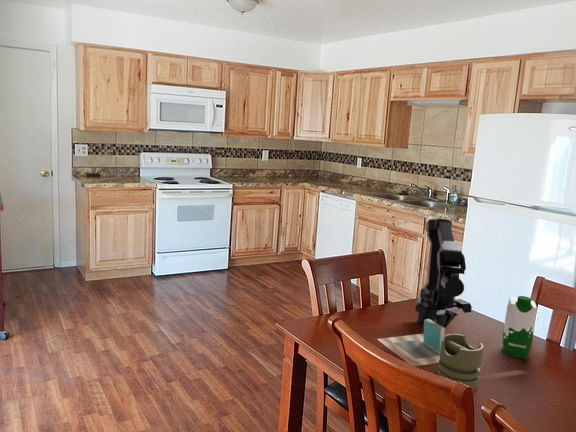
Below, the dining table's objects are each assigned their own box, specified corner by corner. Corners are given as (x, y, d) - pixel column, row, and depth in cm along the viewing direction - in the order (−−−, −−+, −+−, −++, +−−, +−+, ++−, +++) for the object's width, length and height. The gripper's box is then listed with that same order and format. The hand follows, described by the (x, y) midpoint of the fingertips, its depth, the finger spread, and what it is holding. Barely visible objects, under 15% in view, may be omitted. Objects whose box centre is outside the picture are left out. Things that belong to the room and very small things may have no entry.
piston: (466, 353, 136) (433, 337, 145) (460, 394, 138) (428, 376, 147) (491, 346, 142) (458, 331, 152) (485, 385, 144) (453, 368, 154)
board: (429, 336, 177) (430, 332, 177) (470, 361, 159) (470, 358, 159) (376, 342, 169) (376, 339, 168) (412, 370, 151) (413, 366, 150)
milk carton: (501, 356, 165) (510, 297, 161) (499, 345, 173) (508, 289, 170) (530, 361, 162) (540, 302, 159) (527, 350, 171) (536, 294, 167)
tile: (428, 340, 169) (428, 318, 168) (444, 351, 162) (444, 328, 160) (423, 342, 169) (423, 319, 167) (439, 352, 161) (439, 329, 160)
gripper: (452, 277, 174) (446, 320, 176) (407, 280, 166) (402, 325, 169) (475, 287, 164) (469, 333, 166) (429, 291, 156) (423, 338, 159)
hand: (440, 332), depth 165 cm, fingers closed
